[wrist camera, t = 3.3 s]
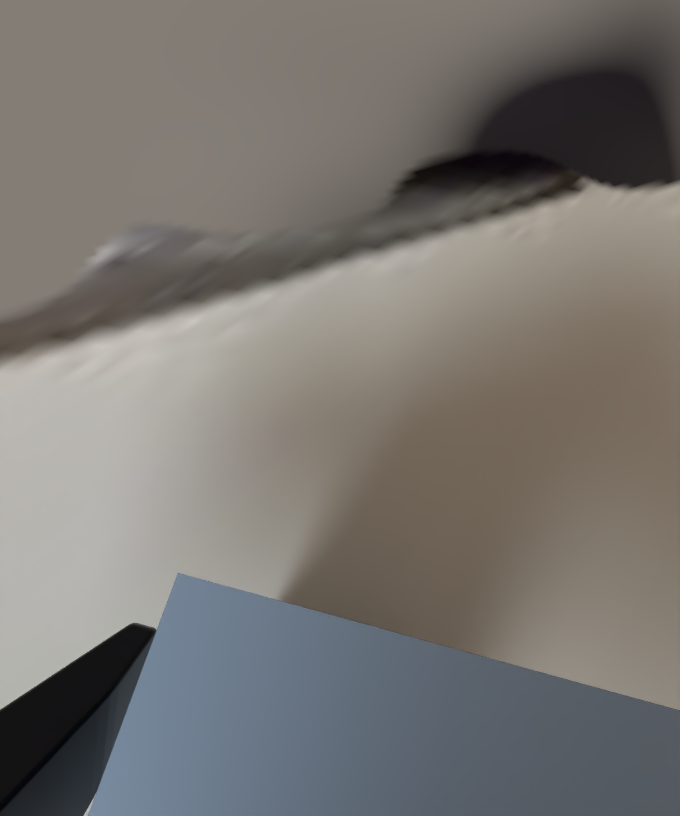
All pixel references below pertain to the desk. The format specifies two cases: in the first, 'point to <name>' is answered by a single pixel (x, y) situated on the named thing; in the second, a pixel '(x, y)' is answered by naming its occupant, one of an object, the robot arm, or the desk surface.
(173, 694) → the light blue block
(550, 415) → the desk surface
